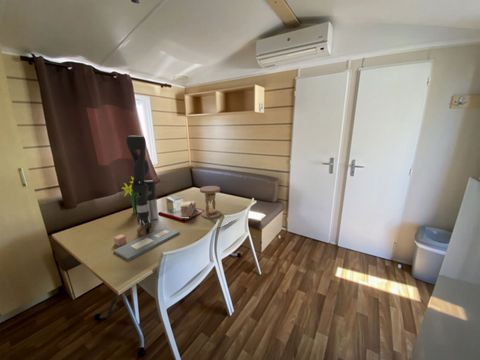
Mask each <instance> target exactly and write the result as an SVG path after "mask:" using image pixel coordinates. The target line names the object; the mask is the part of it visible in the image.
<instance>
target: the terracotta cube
mask: <svg viewBox="0 0 480 360" xmlns="http://www.w3.org/2000/svg"><path fill="white" fill-rule="evenodd" d="M113 242H114V245H116V246H118V247H121V246H124V245H126V244H127V237H126V235H124V234H122V233H120V234H118V235H116V236H114V237H113Z"/></svg>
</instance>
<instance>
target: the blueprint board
mask: <svg viewBox="0 0 480 360" xmlns="http://www.w3.org/2000/svg"><path fill="white" fill-rule="evenodd" d="M180 234H181V233H180V231H179V230H176V229H173V228H171V227H167V226H163V227H160V228H158V229H157V230H155V231H151V232H149V233H147V234H146V235H144V236H140V237H139V238H137V239H134V240H132V241H130V242H128V243H125V244H123V245H120V246H118V247H117V248H115V249H113V253H114V254H116V255H117V256H120V257H121V258H122V259H124V260H127V261H128V262H129V261H130V260H132V259H134V258H136V257H139V256H140V255H142V254H144V253H146V252H148V251H150V250H152V249H153V248H155V247H157V246H159V245H160V244H163V243H164V242H166V241H169V240H170V239H172V238H174V237H175V236H178V235H180Z"/></svg>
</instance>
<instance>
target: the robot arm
mask: <svg viewBox="0 0 480 360" xmlns="http://www.w3.org/2000/svg"><path fill="white" fill-rule="evenodd" d="M146 143H147V141H146V138H145V137H144V135H143V136H142V135H128V136H127V137H126V146H127V148H128V150H129V153H130V155H131V157H132V158H131V159H132V162H133V164H134V165H133V178H134V179H133V180H132V181H133V183H131V184H132V187H131V189H132V191H133V192H134V193H139V194H141V195H139V196H138V197H137V198H136V203H137V212H136V214H137V217H136V220H137V224H138V226H139V227H141V226H142V225H144V226H145V227H146V233H147V234H150V233H151V231H150V230H149V228H150V227H151V224H152V221H154V220H157V219H159V211H158V201H157V193H156V192H157V191H156V189H157V187H156V181H155V180H154V179H149V180H146V177H147V175H148V173H149V171H150V166H149V162H148V160H147V159H146V150H147V149H146V147H147V146H146V145H147V144H146ZM138 150H139V152H138ZM139 181H140V183H139ZM148 192H149V193H148ZM146 223H147V224H146ZM149 225H150V226H149Z"/></svg>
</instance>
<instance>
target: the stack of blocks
mask: <svg viewBox="0 0 480 360" xmlns="http://www.w3.org/2000/svg"><path fill="white" fill-rule="evenodd" d="M196 206H197V205H196V201H195V200H194V201H193V200H190V201H189V200H188V201H185V202H183V204H181V205H180V212H181V213H180V214H181V218H182V217H189V216H190V215H191V214H192V212H193V211H194V210H195V209H197V207H196ZM195 211H196V210H195ZM195 211H194V212H195ZM194 212H193V213H194ZM192 215H193V214H192ZM192 215H191V216H192Z"/></svg>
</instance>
